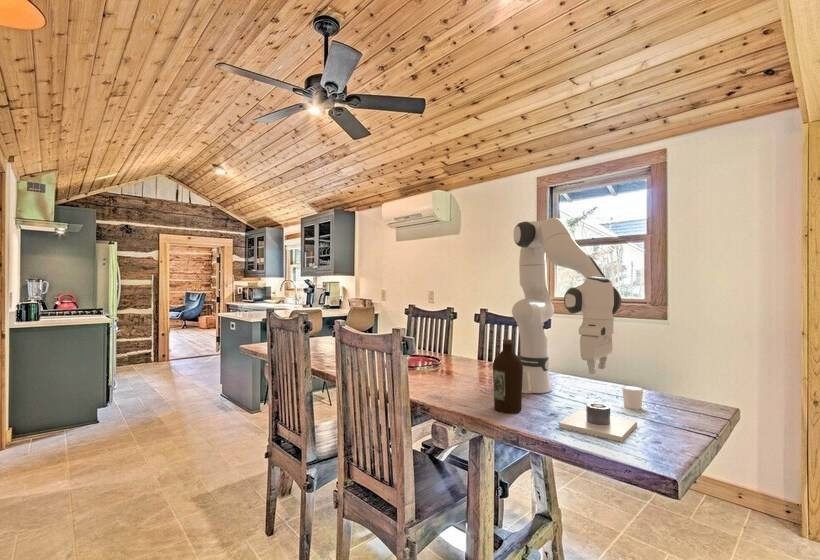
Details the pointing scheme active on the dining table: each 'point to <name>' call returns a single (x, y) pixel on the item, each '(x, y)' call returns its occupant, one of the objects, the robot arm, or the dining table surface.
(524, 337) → the robot arm
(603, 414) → the steel collar
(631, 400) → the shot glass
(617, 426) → the post stand
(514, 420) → the dining table surface
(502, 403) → the olive oil
